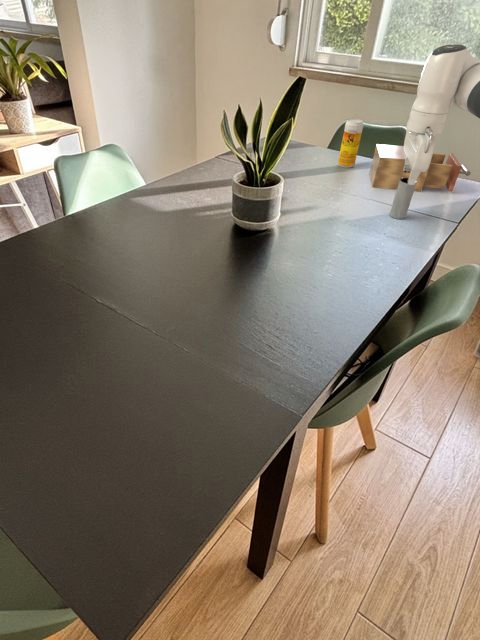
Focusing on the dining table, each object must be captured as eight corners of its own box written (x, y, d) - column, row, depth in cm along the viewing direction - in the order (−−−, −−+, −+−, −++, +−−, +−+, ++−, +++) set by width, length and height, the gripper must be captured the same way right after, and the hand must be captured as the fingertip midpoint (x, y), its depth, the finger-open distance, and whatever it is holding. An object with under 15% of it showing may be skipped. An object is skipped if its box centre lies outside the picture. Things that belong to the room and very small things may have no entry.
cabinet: (414, 176, 150) (424, 147, 144) (421, 191, 140) (431, 161, 133) (369, 172, 153) (376, 144, 146) (372, 187, 142) (379, 157, 136)
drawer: (457, 178, 147) (466, 154, 142) (466, 192, 138) (476, 167, 132) (401, 173, 150) (408, 149, 145) (405, 187, 140) (413, 162, 135)
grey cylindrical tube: (391, 211, 127) (401, 176, 121) (407, 215, 126) (418, 179, 119) (387, 217, 124) (398, 181, 118) (403, 220, 123) (415, 184, 116)
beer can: (337, 167, 156) (346, 122, 146) (337, 162, 161) (346, 118, 151) (354, 169, 155) (364, 123, 145) (354, 163, 160) (364, 119, 150)
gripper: (446, 134, 101) (426, 192, 110) (432, 114, 116) (415, 167, 125) (419, 132, 101) (400, 190, 111) (408, 112, 117) (392, 165, 126)
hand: (408, 177), depth 118 cm, fingers open, 8 cm apart
